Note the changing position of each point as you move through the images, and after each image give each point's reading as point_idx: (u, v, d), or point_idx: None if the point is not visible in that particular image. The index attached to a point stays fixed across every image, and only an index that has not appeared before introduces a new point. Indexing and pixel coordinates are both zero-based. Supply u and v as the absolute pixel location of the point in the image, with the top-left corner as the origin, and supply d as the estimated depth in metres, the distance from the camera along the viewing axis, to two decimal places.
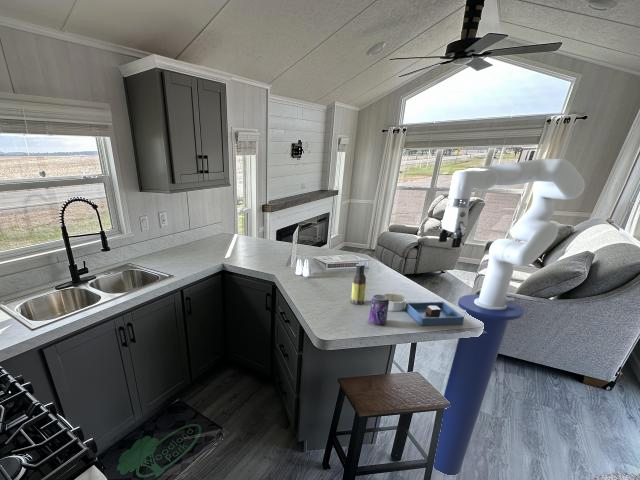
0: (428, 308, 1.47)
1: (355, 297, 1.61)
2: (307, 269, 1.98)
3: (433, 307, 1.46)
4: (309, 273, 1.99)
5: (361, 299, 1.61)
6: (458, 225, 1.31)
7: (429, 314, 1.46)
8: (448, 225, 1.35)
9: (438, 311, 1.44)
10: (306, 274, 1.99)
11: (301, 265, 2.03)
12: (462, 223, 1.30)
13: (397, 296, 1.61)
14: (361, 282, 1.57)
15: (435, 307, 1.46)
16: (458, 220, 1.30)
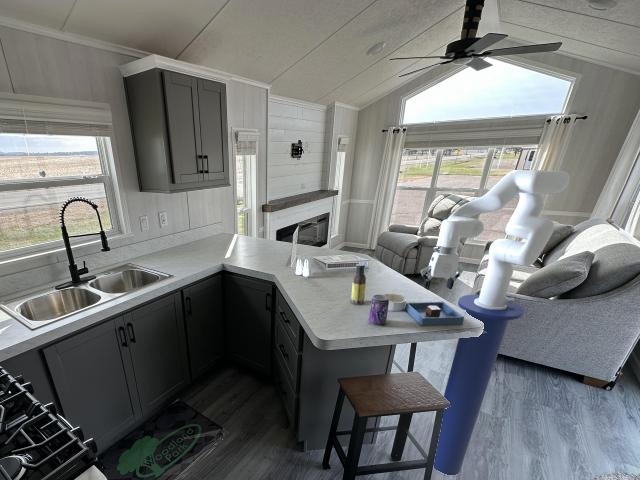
0: (428, 308, 1.47)
1: (355, 297, 1.61)
2: (307, 269, 1.98)
3: (433, 307, 1.46)
4: (309, 273, 1.99)
5: (361, 299, 1.61)
6: None
7: (429, 314, 1.46)
8: None
9: (438, 311, 1.44)
10: (306, 274, 1.99)
11: (301, 265, 2.03)
12: (429, 267, 1.38)
13: (397, 296, 1.61)
14: (361, 282, 1.57)
15: (435, 307, 1.46)
16: (429, 263, 1.39)
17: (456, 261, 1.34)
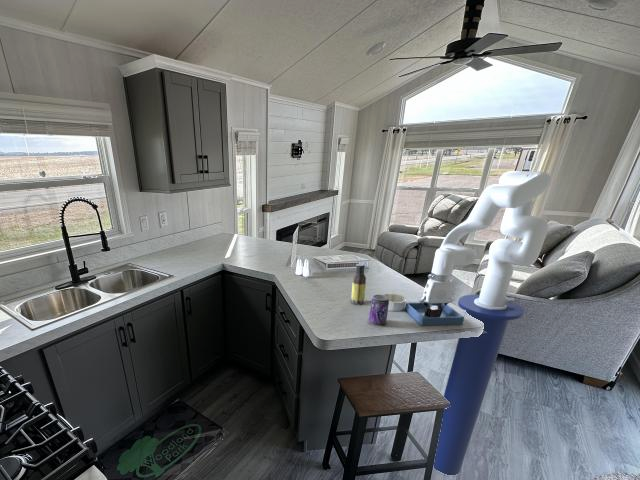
0: None
1: (355, 297, 1.61)
2: (307, 269, 1.98)
3: (433, 307, 1.46)
4: (309, 273, 1.99)
5: (361, 299, 1.61)
6: None
7: None
8: None
9: (438, 311, 1.44)
10: (306, 274, 1.99)
11: (301, 265, 2.03)
12: (425, 295, 1.43)
13: (397, 296, 1.61)
14: (361, 282, 1.57)
15: (435, 307, 1.46)
16: (425, 289, 1.44)
17: (450, 287, 1.39)
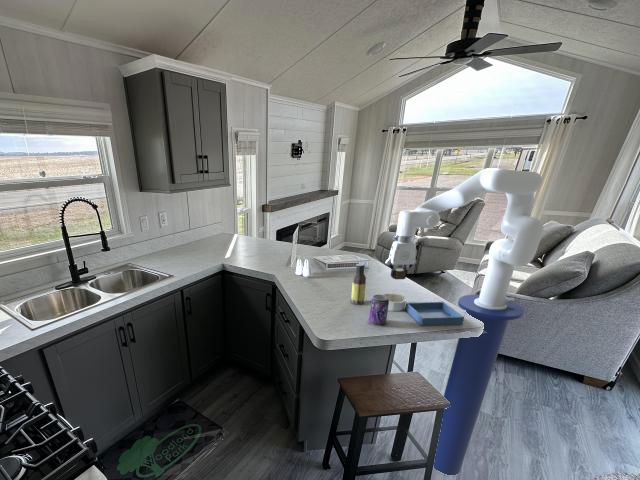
0: None
1: (355, 297, 1.61)
2: (307, 269, 1.98)
3: (399, 269, 1.51)
4: (309, 273, 1.99)
5: (361, 299, 1.61)
6: None
7: None
8: None
9: (403, 273, 1.49)
10: (306, 274, 1.99)
11: (301, 265, 2.03)
12: (390, 257, 1.48)
13: (397, 296, 1.61)
14: (361, 282, 1.57)
15: (400, 269, 1.51)
16: (390, 251, 1.49)
17: (413, 249, 1.44)
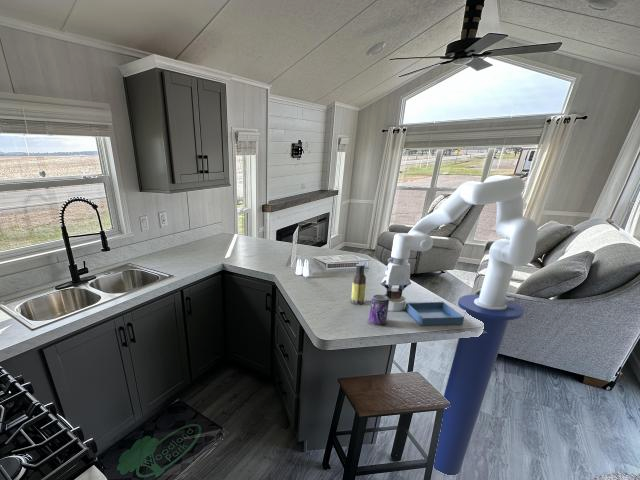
0: None
1: (355, 297, 1.61)
2: (307, 269, 1.98)
3: (394, 289, 1.56)
4: (309, 273, 1.99)
5: (361, 299, 1.61)
6: None
7: None
8: None
9: (398, 293, 1.54)
10: (306, 274, 1.99)
11: (301, 265, 2.03)
12: (385, 277, 1.53)
13: None
14: (361, 282, 1.57)
15: (395, 289, 1.55)
16: None
17: (408, 270, 1.49)
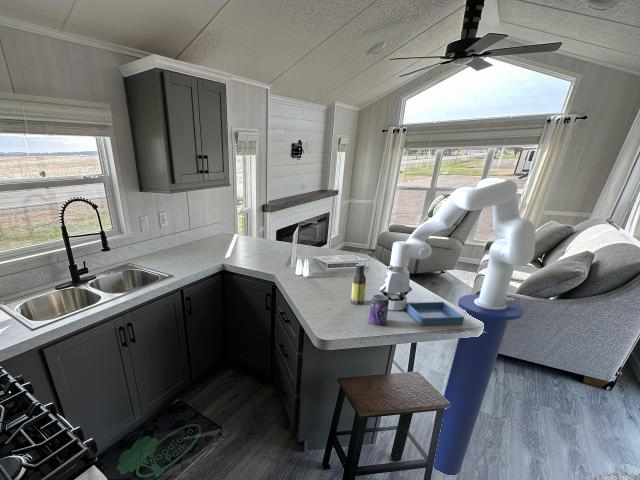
0: (389, 297, 1.58)
1: (355, 297, 1.61)
2: (307, 269, 1.98)
3: (394, 296, 1.57)
4: (309, 273, 1.99)
5: (361, 299, 1.61)
6: None
7: None
8: None
9: (398, 300, 1.55)
10: (306, 274, 1.99)
11: (301, 265, 2.03)
12: (385, 285, 1.54)
13: (398, 295, 1.60)
14: (361, 282, 1.57)
15: (395, 296, 1.57)
16: (385, 280, 1.55)
17: (407, 278, 1.50)
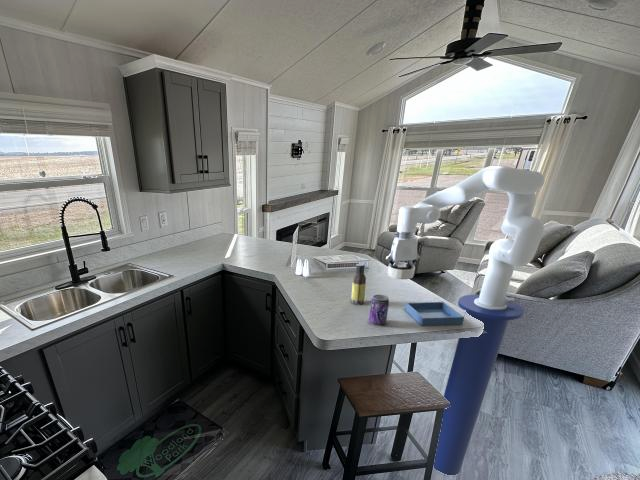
0: None
1: (355, 297, 1.61)
2: (307, 269, 1.98)
3: (401, 265, 1.51)
4: (309, 273, 1.99)
5: (361, 299, 1.61)
6: None
7: None
8: None
9: (405, 269, 1.49)
10: (306, 274, 1.99)
11: (301, 265, 2.03)
12: (391, 253, 1.48)
13: None
14: (361, 282, 1.57)
15: (402, 265, 1.51)
16: None
17: (415, 244, 1.44)
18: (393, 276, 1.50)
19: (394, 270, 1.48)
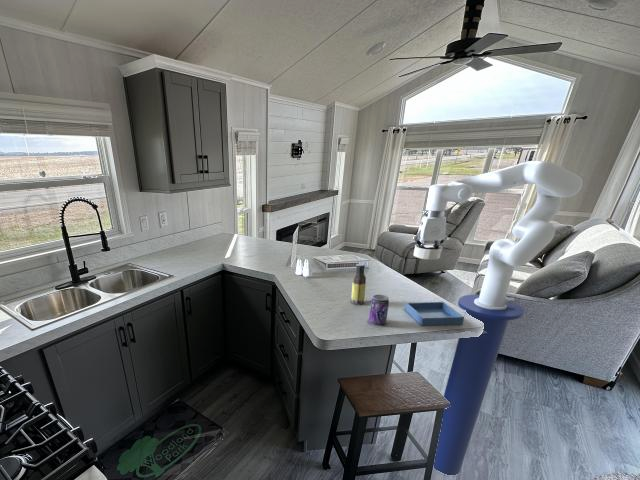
0: None
1: (355, 297, 1.61)
2: (307, 269, 1.98)
3: (428, 246, 1.49)
4: (309, 273, 1.99)
5: (361, 299, 1.61)
6: None
7: None
8: None
9: (432, 249, 1.47)
10: (306, 274, 1.99)
11: (301, 265, 2.03)
12: (419, 232, 1.46)
13: None
14: (361, 282, 1.57)
15: (430, 246, 1.49)
16: (419, 228, 1.47)
17: (444, 224, 1.42)
18: (420, 256, 1.48)
19: (421, 250, 1.46)
